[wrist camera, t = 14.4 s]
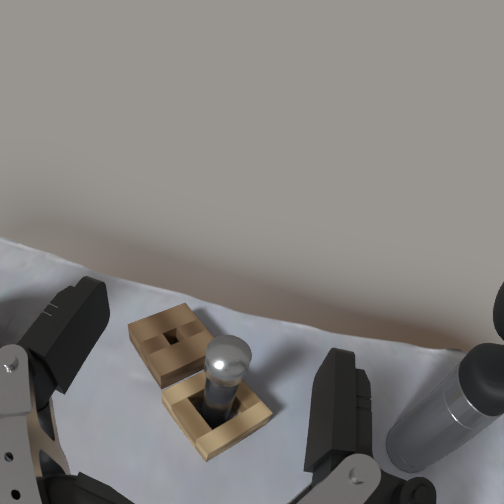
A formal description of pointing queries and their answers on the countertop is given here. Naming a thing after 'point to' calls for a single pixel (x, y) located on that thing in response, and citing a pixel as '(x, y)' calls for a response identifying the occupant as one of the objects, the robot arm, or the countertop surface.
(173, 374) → the walnut block
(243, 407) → the oak block
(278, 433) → the countertop surface
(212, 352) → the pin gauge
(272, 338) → the countertop surface
